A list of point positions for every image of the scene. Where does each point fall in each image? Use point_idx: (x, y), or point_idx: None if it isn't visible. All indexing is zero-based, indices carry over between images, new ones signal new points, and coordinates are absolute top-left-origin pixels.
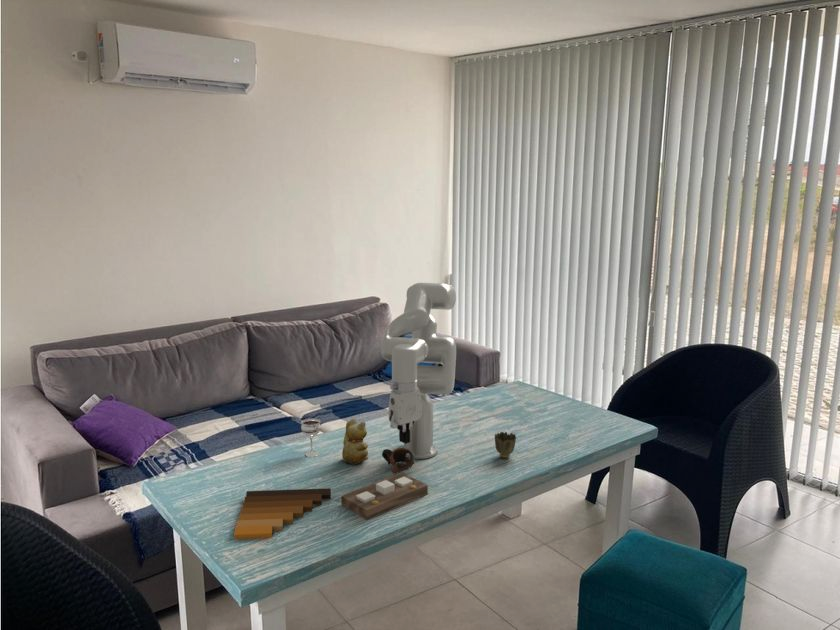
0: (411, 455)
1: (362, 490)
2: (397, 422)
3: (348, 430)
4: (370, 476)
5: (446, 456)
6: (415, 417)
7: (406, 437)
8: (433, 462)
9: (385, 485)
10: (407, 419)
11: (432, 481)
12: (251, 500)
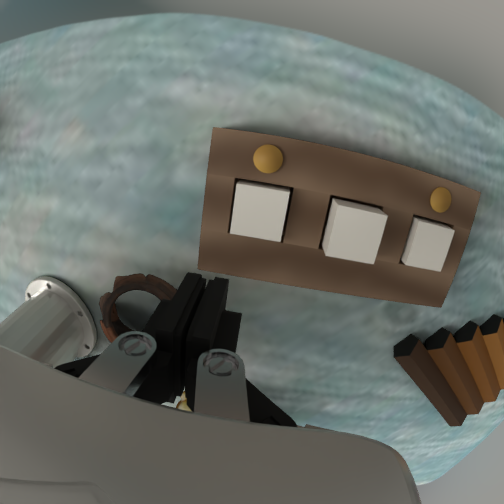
0: (112, 298)
1: (391, 285)
2: (413, 481)
3: None
4: (244, 341)
5: (27, 251)
6: (19, 394)
7: (217, 304)
8: (63, 256)
9: (366, 227)
10: (202, 476)
11: (139, 177)
12: (479, 402)
